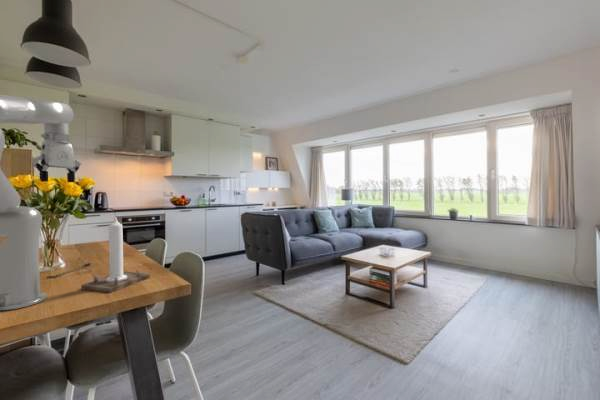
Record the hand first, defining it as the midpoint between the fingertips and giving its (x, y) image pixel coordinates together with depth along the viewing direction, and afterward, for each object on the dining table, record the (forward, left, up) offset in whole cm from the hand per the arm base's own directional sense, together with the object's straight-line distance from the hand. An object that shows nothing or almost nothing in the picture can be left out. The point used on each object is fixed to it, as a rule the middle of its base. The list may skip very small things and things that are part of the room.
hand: (58, 181), depth 111 cm
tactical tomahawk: (+11, +8, -41) cm, 43 cm away
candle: (+4, -25, -39) cm, 46 cm away
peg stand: (+4, -25, -40) cm, 48 cm away
